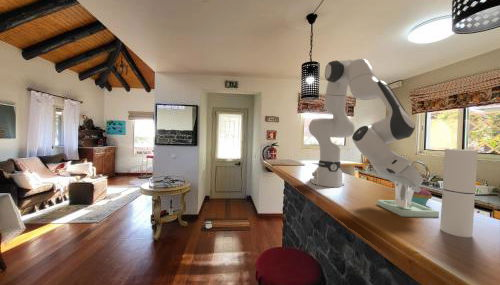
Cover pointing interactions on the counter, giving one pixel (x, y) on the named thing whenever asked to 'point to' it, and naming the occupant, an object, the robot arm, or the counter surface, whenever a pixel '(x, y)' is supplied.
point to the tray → (414, 212)
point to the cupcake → (421, 197)
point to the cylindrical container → (458, 192)
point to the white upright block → (403, 196)
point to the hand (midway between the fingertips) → (408, 188)
